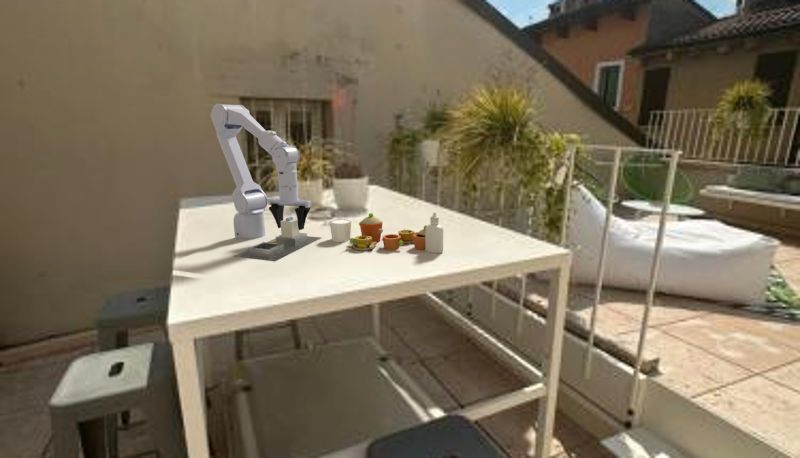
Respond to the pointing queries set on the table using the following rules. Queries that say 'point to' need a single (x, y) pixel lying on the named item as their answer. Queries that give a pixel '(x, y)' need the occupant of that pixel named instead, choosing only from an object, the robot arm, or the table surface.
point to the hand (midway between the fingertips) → (290, 228)
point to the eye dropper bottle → (434, 235)
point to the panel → (277, 247)
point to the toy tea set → (386, 236)
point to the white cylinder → (340, 230)
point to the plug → (289, 228)
